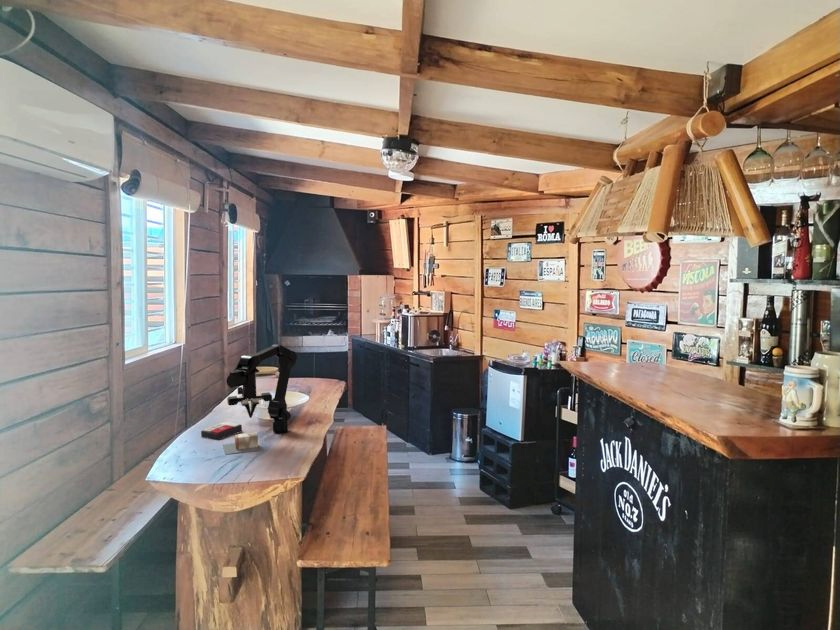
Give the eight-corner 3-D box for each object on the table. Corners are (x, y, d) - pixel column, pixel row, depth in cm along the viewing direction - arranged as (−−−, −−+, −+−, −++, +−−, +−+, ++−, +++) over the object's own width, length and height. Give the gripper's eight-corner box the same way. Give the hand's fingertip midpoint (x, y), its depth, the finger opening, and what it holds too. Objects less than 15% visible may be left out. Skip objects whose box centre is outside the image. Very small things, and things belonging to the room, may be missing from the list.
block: (256, 432, 236) (234, 434, 233) (257, 435, 232) (236, 438, 228) (256, 443, 237) (235, 446, 233) (257, 446, 232) (236, 449, 229)
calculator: (200, 429, 248) (225, 420, 261) (201, 438, 248) (225, 428, 262) (217, 432, 243) (241, 423, 256) (218, 441, 243) (242, 431, 257)
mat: (253, 441, 241) (253, 440, 241) (257, 450, 228) (257, 449, 228) (223, 445, 235) (223, 444, 235) (225, 454, 223) (225, 454, 223)
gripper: (267, 378, 249) (268, 410, 250) (225, 382, 241) (226, 415, 242) (271, 382, 239) (273, 416, 241) (228, 387, 231) (229, 422, 232)
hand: (250, 417), depth 239 cm, fingers closed
